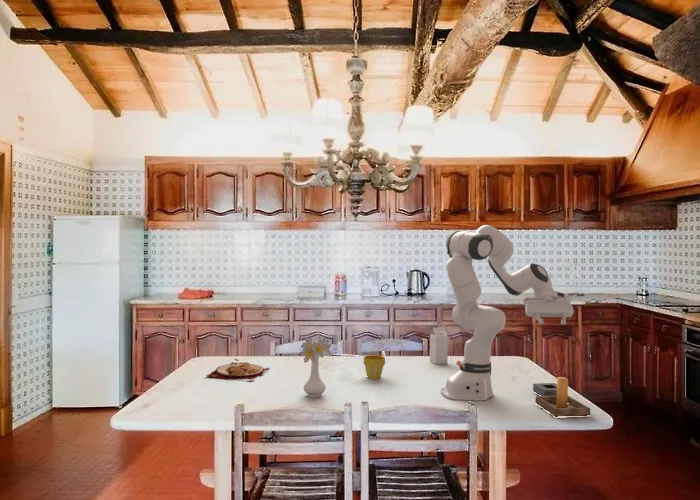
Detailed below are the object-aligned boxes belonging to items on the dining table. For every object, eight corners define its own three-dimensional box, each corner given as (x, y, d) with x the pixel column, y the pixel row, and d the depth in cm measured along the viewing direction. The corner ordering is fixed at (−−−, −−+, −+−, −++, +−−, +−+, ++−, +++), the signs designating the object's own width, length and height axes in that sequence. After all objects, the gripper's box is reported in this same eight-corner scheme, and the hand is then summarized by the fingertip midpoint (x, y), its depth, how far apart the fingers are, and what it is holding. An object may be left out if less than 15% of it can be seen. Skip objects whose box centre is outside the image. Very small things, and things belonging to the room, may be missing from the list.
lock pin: (559, 410, 203) (560, 379, 203) (554, 406, 207) (555, 377, 207) (569, 409, 204) (570, 379, 204) (563, 406, 208) (564, 376, 207)
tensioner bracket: (544, 399, 220) (544, 390, 219) (533, 392, 229) (533, 383, 229) (566, 399, 221) (566, 389, 221) (554, 391, 231) (554, 383, 231)
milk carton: (429, 361, 284) (430, 326, 283) (441, 360, 286) (441, 326, 286) (435, 364, 277) (436, 329, 277) (447, 363, 279) (448, 328, 279)
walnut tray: (555, 418, 197) (555, 409, 197) (535, 404, 213) (535, 396, 213) (590, 417, 199) (590, 408, 198) (567, 403, 214) (567, 395, 214)
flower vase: (296, 402, 211) (297, 341, 211) (303, 389, 230) (303, 333, 229) (328, 403, 211) (329, 342, 210) (332, 390, 229) (333, 333, 228)
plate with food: (204, 379, 247) (204, 371, 247) (232, 364, 272) (232, 357, 272) (251, 384, 240) (252, 377, 240) (275, 369, 266) (275, 362, 265)
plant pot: (383, 374, 256) (384, 354, 256) (385, 380, 246) (386, 359, 246) (362, 374, 256) (363, 354, 256) (364, 380, 245) (364, 359, 245)
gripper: (523, 293, 232) (530, 318, 223) (570, 294, 232) (578, 319, 222) (520, 302, 237) (526, 327, 227) (566, 302, 236) (574, 328, 227)
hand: (552, 323), depth 225 cm, fingers open, 8 cm apart
